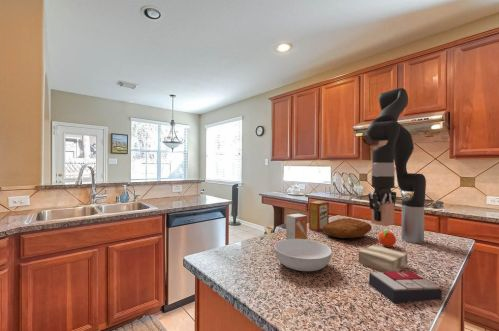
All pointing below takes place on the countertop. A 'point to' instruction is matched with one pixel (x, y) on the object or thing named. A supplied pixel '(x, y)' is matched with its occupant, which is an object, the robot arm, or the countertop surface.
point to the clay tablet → (347, 228)
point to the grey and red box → (404, 287)
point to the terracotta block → (384, 215)
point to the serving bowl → (302, 254)
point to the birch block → (383, 258)
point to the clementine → (387, 238)
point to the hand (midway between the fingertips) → (382, 219)
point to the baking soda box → (318, 215)
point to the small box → (296, 226)
